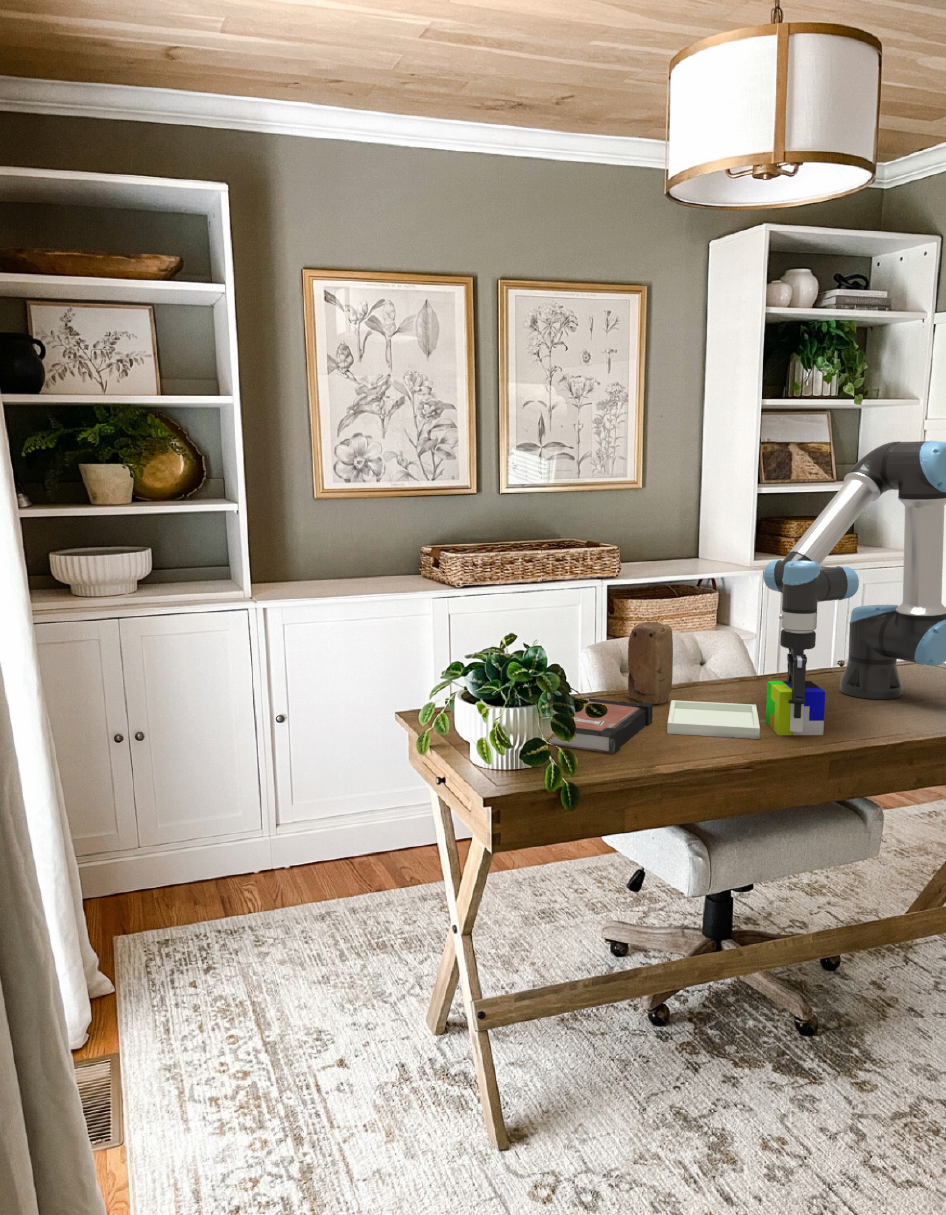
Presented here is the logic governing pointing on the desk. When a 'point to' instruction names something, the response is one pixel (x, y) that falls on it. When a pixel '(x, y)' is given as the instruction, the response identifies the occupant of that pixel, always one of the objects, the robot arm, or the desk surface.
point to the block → (650, 662)
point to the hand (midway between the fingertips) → (793, 724)
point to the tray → (713, 719)
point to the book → (608, 726)
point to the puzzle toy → (781, 708)
